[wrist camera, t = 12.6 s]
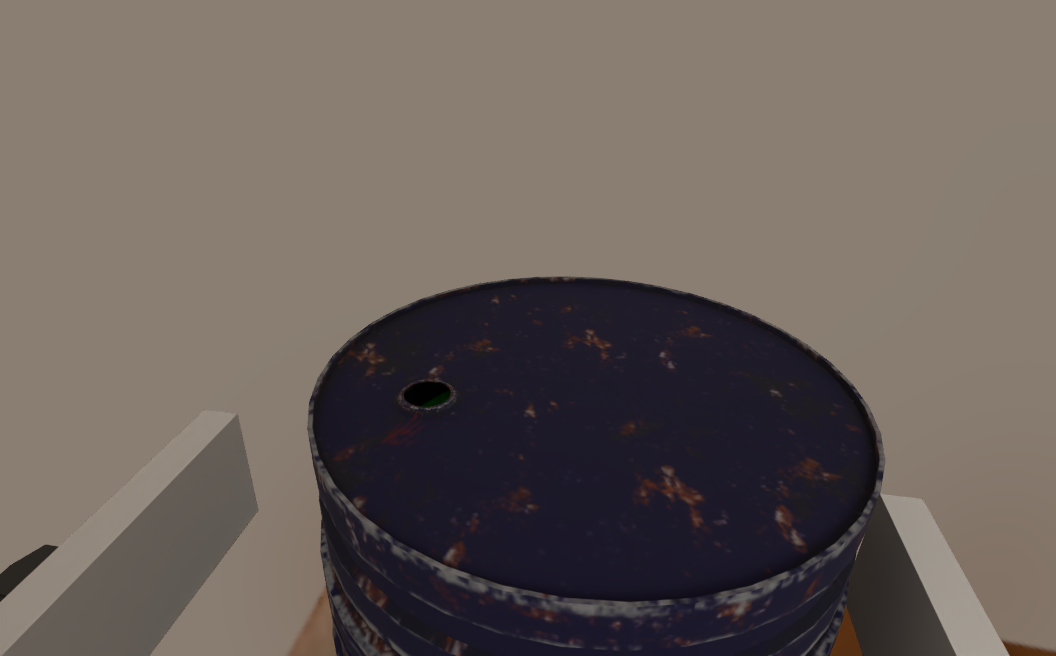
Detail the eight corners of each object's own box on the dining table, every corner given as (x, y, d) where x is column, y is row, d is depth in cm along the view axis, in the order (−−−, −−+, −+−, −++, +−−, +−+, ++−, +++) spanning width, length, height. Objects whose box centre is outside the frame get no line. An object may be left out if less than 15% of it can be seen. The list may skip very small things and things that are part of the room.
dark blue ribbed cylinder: (658, 647, 24) (725, 266, 17) (806, 1024, 15) (1071, 558, 8) (379, 689, 22) (327, 285, 15) (366, 1139, 13) (232, 676, 6)
